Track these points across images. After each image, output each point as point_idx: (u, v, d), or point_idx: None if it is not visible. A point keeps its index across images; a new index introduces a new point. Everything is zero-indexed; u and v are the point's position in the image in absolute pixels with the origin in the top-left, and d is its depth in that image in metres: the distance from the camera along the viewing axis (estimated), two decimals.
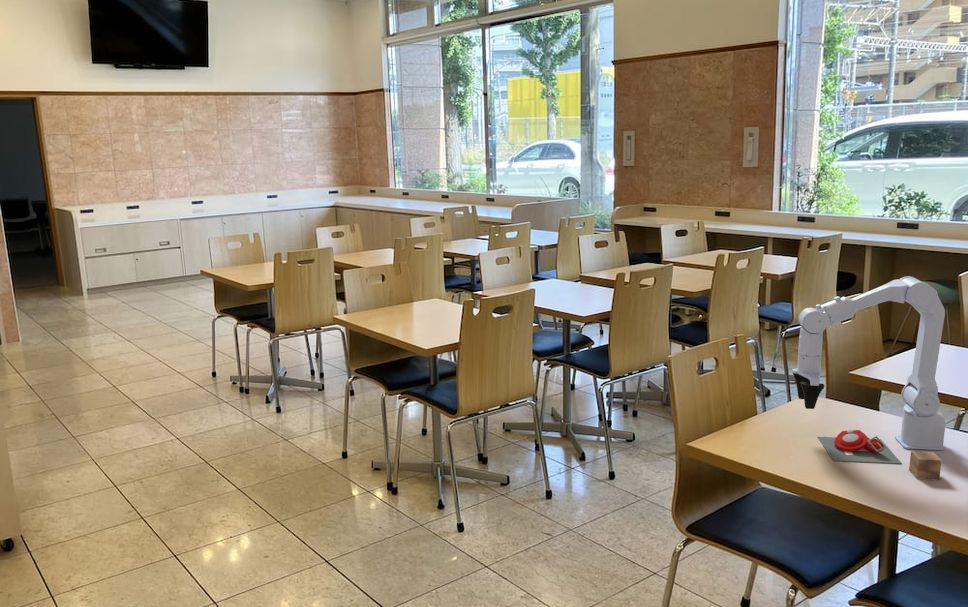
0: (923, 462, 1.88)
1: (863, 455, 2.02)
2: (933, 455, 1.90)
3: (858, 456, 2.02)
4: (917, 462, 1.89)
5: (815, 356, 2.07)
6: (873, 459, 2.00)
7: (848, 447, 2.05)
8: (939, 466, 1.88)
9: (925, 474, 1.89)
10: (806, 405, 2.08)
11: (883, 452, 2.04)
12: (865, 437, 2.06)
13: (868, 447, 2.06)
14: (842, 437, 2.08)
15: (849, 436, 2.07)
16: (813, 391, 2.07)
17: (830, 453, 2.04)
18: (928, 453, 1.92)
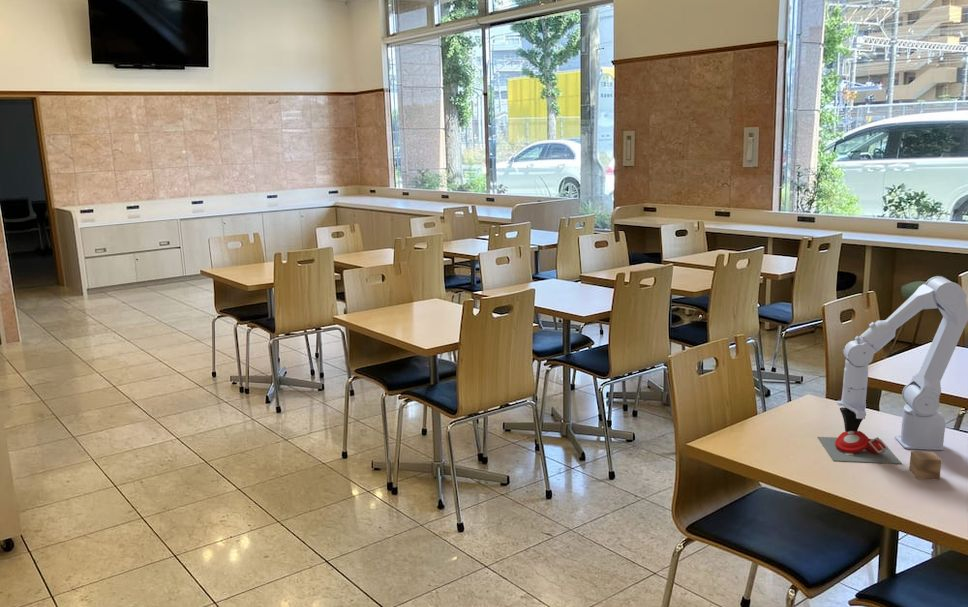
0: (923, 462, 1.88)
1: (863, 455, 2.02)
2: (933, 455, 1.90)
3: (858, 456, 2.02)
4: (917, 462, 1.89)
5: (861, 389, 2.07)
6: (873, 459, 2.00)
7: (849, 448, 2.04)
8: (939, 466, 1.88)
9: (925, 474, 1.89)
10: None
11: (883, 452, 2.04)
12: (866, 438, 2.05)
13: (869, 448, 2.05)
14: (843, 438, 2.07)
15: (850, 438, 2.06)
16: (854, 419, 2.11)
17: (830, 453, 2.04)
18: (928, 453, 1.92)
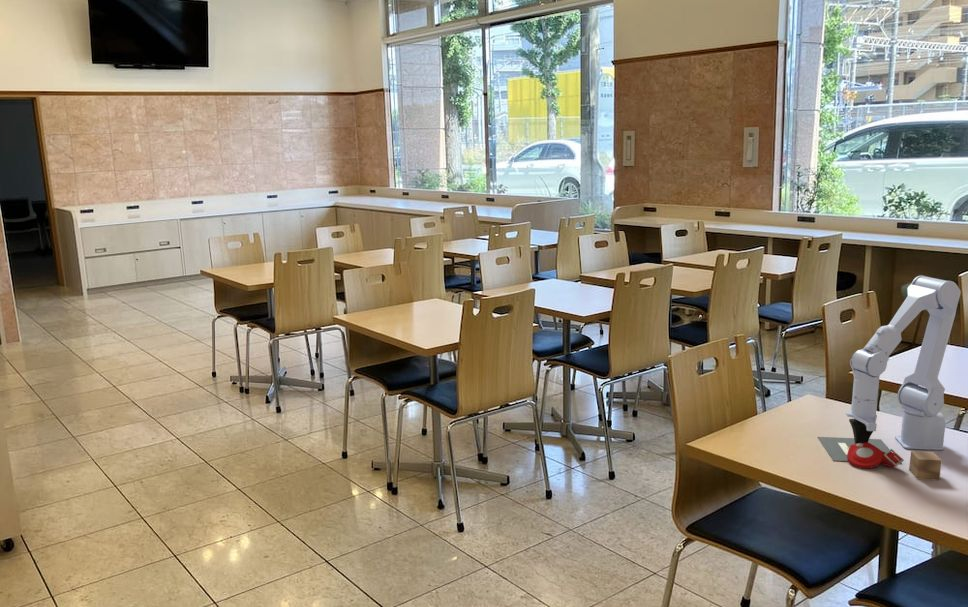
0: (923, 462, 1.88)
1: None
2: (933, 455, 1.90)
3: None
4: (917, 462, 1.89)
5: (871, 400, 1.99)
6: None
7: (866, 463, 1.95)
8: (939, 466, 1.88)
9: (925, 474, 1.89)
10: None
11: None
12: (878, 450, 1.98)
13: (881, 460, 1.98)
14: (856, 452, 1.98)
15: (863, 451, 1.97)
16: (864, 431, 2.03)
17: (830, 453, 2.04)
18: (928, 453, 1.92)
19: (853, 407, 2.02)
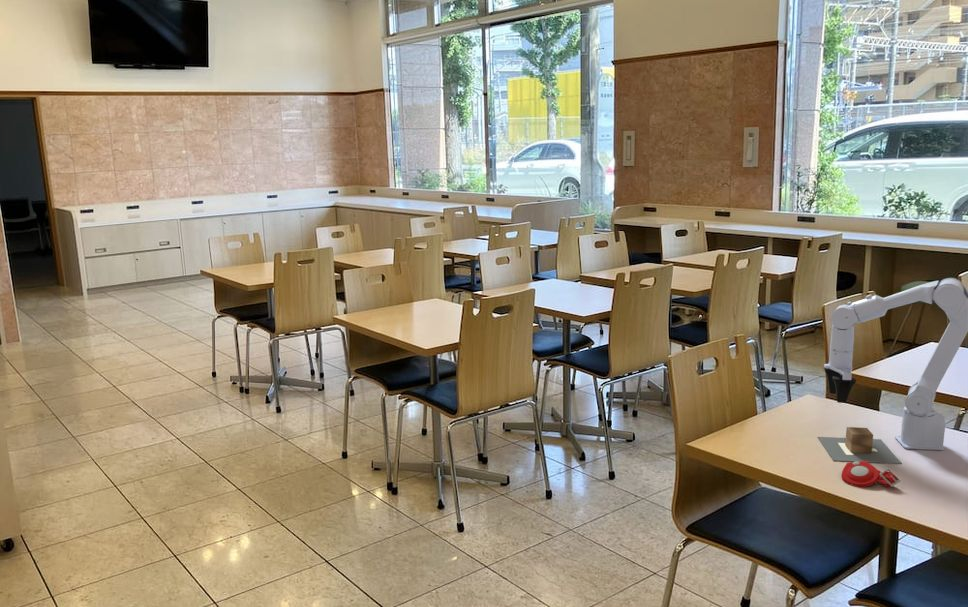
0: (856, 437, 2.03)
1: (863, 455, 2.02)
2: (866, 430, 2.05)
3: (858, 456, 2.02)
4: (851, 436, 2.04)
5: (847, 351, 2.13)
6: (873, 459, 2.00)
7: (859, 482, 1.86)
8: (871, 440, 2.03)
9: (858, 447, 2.04)
10: (838, 399, 2.14)
11: (883, 452, 2.04)
12: (875, 469, 1.88)
13: (878, 480, 1.88)
14: (850, 471, 1.89)
15: (858, 470, 1.88)
16: (844, 385, 2.13)
17: (830, 453, 2.04)
18: (862, 429, 2.07)
19: (830, 359, 2.16)
